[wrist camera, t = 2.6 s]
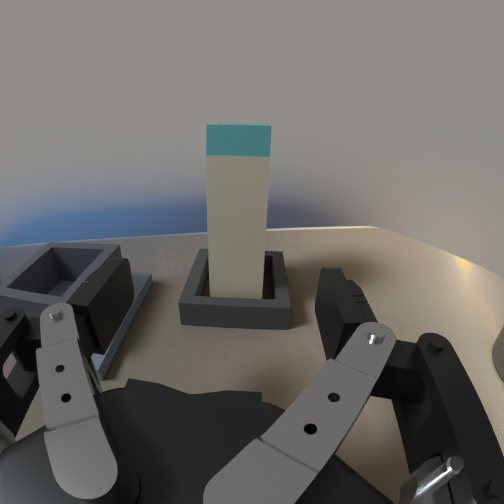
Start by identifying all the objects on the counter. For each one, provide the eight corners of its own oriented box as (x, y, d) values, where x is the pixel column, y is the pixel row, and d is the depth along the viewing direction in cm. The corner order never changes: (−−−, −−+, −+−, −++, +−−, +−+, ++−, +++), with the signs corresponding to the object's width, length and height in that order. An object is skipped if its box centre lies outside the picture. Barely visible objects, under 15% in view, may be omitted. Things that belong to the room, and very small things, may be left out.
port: (152, 282, 26) (146, 238, 24) (102, 380, 16) (80, 327, 14) (54, 274, 27) (44, 235, 25) (-10, 345, 16) (-32, 300, 14)
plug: (260, 279, 28) (268, 123, 22) (261, 312, 23) (271, 125, 17) (218, 278, 28) (217, 122, 22) (210, 310, 23) (206, 124, 17)
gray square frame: (280, 269, 30) (282, 251, 29) (288, 329, 21) (290, 308, 21) (200, 266, 30) (199, 248, 29) (181, 324, 22) (178, 302, 21)
